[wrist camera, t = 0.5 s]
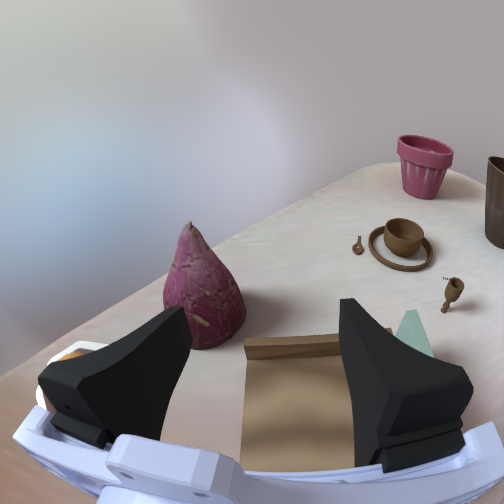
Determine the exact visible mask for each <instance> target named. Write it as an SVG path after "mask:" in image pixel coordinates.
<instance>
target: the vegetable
mask: <svg viewBox="0 0 504 504" xmlns="http://www.w3.org/2000/svg"><path fill="white" fill-rule="evenodd" d="M163 303H164V310H166V309H167V308H169V307H171V306H183V307H184V310H185V314H186V317H187V321H188V324H189V327H190V331H191V334H192V337H193V342H192V346H191V349H195V350H201V349H206V348H210V347H214V346H218V345H220V344H222V343H223V342H225V341H227V340H229V339H231V338H232V336H233V335H234V334H235V333H236V332H237V331H238V330H239V328H240V327H241V325H242V324H243V323H244V320H245V316H246V309H245V305H244V302H243V299H242V296H241V293H240V290H239V287H238V285H237V283H236V281H235V280H234V278H233V276H232V274H231V273H230V271H229V270H228V269H227V268H226V266H225V265H224V264H223V263H222V262H221V261H220V260H219V258H218V257H217V256H216V254H215V253H214V252H213V251H212V250H211V249H210V247H209V246H208V245H207V243H206V242H205V240H204V238H203V236H202V235H201V233H200V232H199V230H198V229H197V228H196V227H194V226H193V225H192V222H191V221H189V222H188V223H187V224H186V226H185V227H184V228H183V229H182V231H181V233H180V235H179V239H178V245H177V249H176V253H175V257H174V261H173V264H172V266H171V269H170V271H169V274H168V277H167V280H166V283H165V286H164V291H163Z"/></svg>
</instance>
